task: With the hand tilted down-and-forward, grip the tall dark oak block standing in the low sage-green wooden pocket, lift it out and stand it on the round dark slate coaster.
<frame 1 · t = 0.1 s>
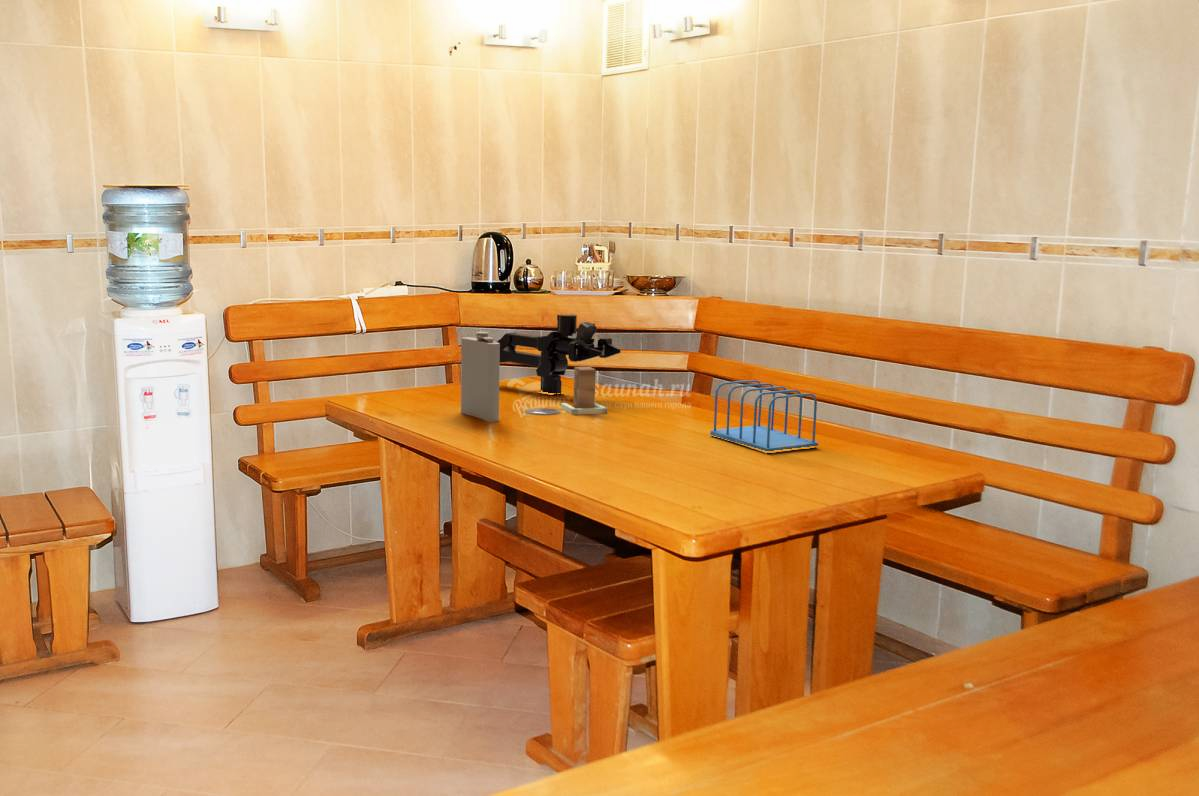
hand: (610, 352, 350), 17 cm above the table, tool horizontal, fingers open, 9 cm apart
pocket: (583, 412, 337), on the table
file sorter: (762, 443, 300), on the table
oak block: (583, 410, 337), resting on pocket
slate coaster: (542, 413, 333), on the table
flask: (480, 417, 326), on the table
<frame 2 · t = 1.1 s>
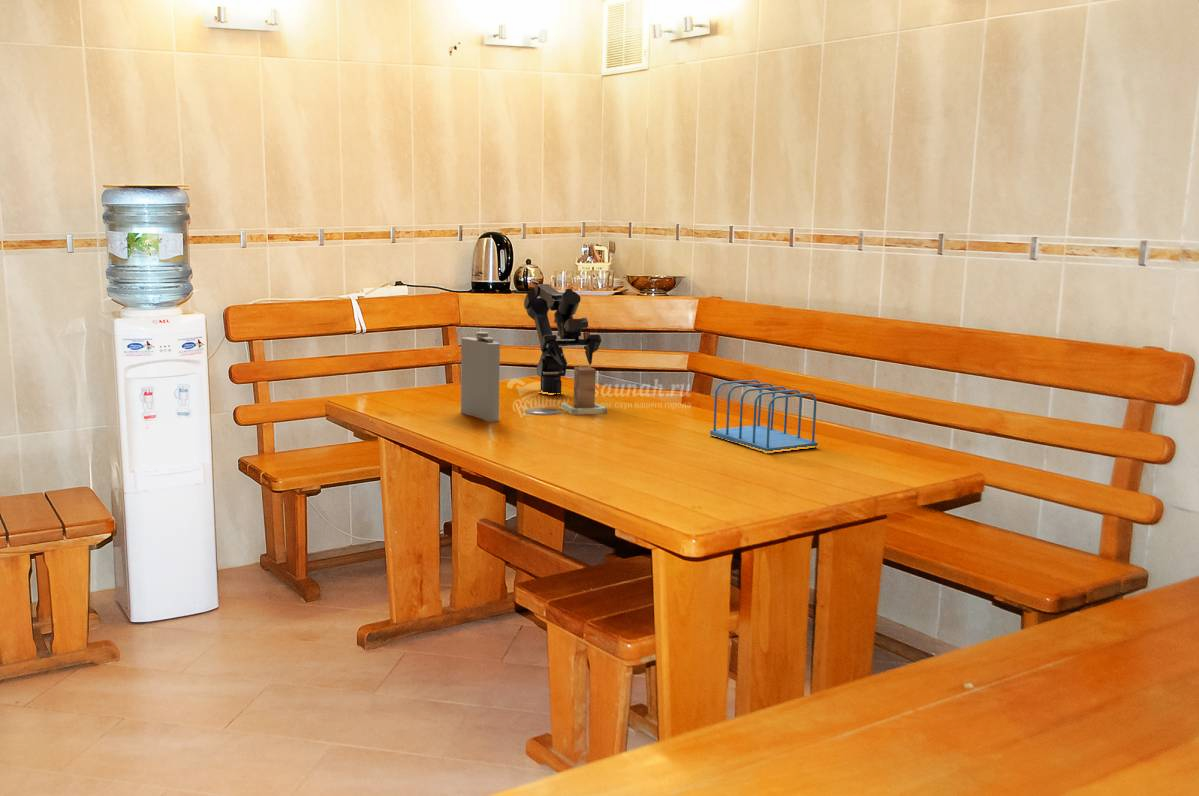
hand: (576, 364, 342), 14 cm above the table, tool tilted 45°, fingers open, 9 cm apart
nothing on the table moved.
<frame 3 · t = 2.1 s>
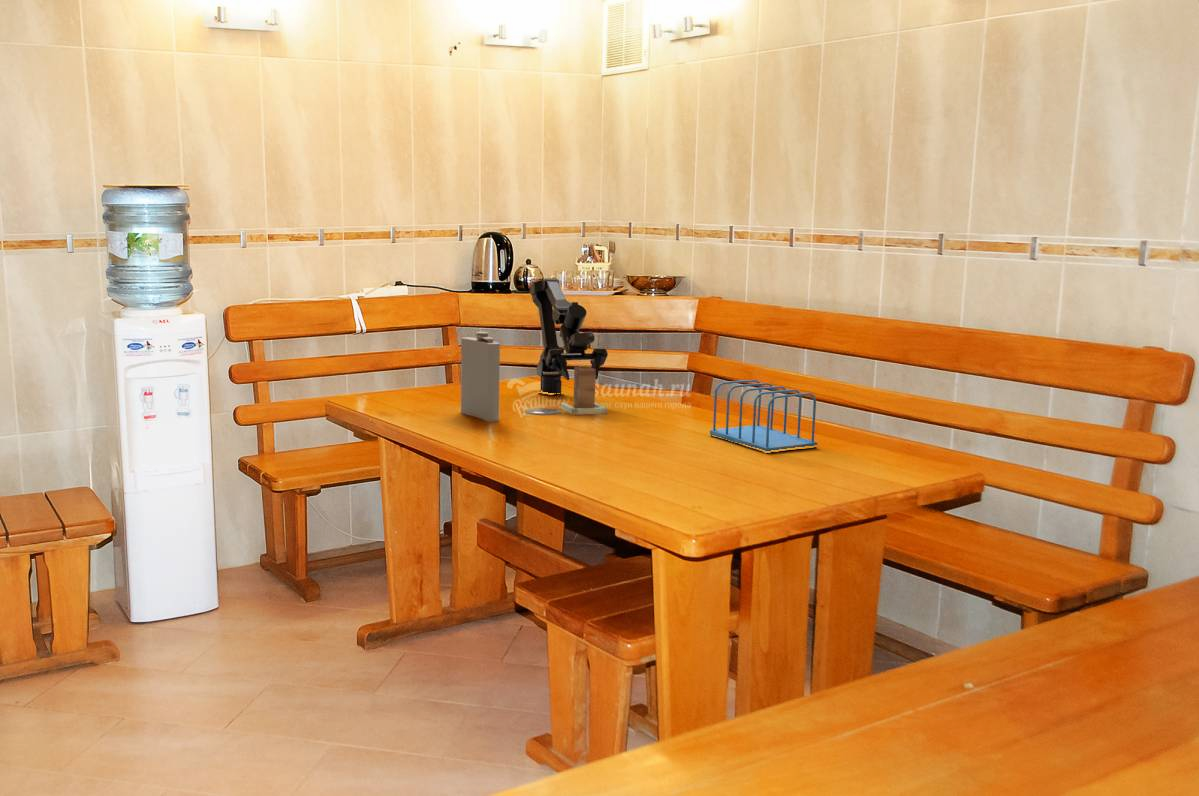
hand: (582, 379, 337), 10 cm above the table, tool tilted 45°, fingers open, 9 cm apart
nothing on the table moved.
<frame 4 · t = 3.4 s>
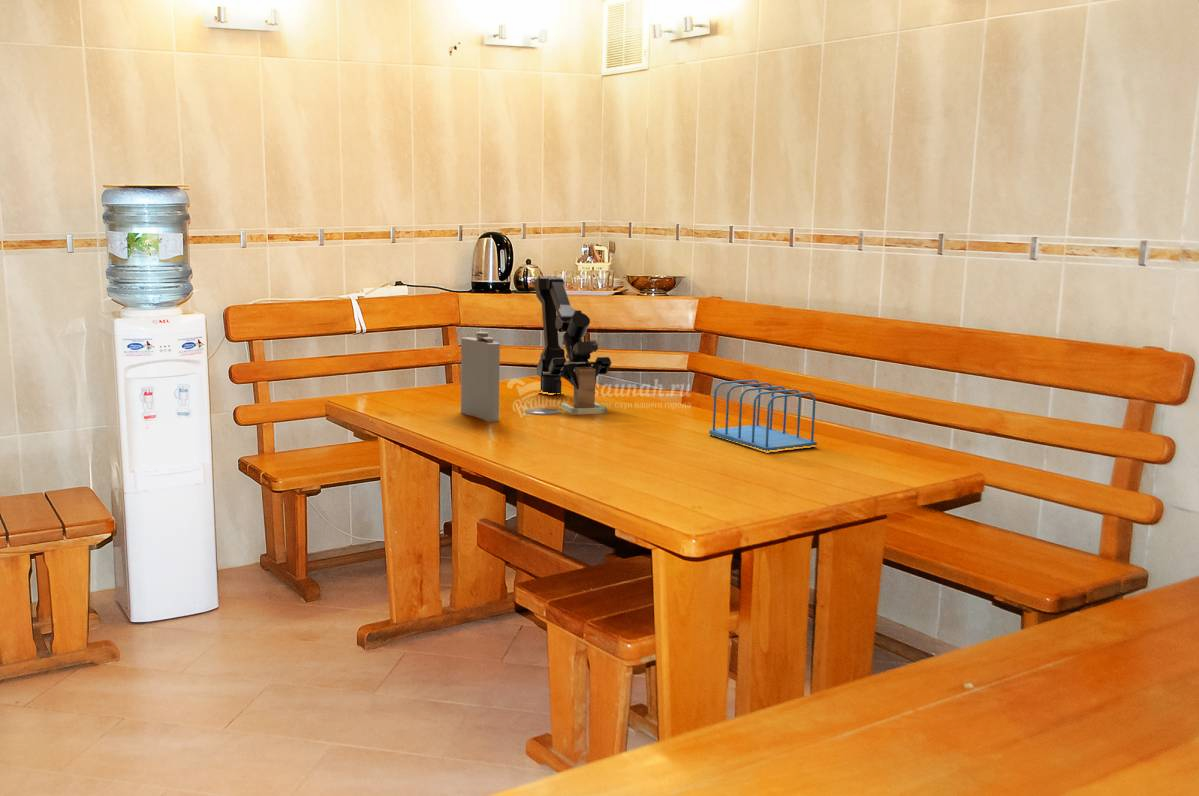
hand: (586, 388, 335), 8 cm above the table, tool tilted 45°, fingers closed on oak block, 5 cm apart
oak block: (583, 410, 337), resting on pocket, touching gripper
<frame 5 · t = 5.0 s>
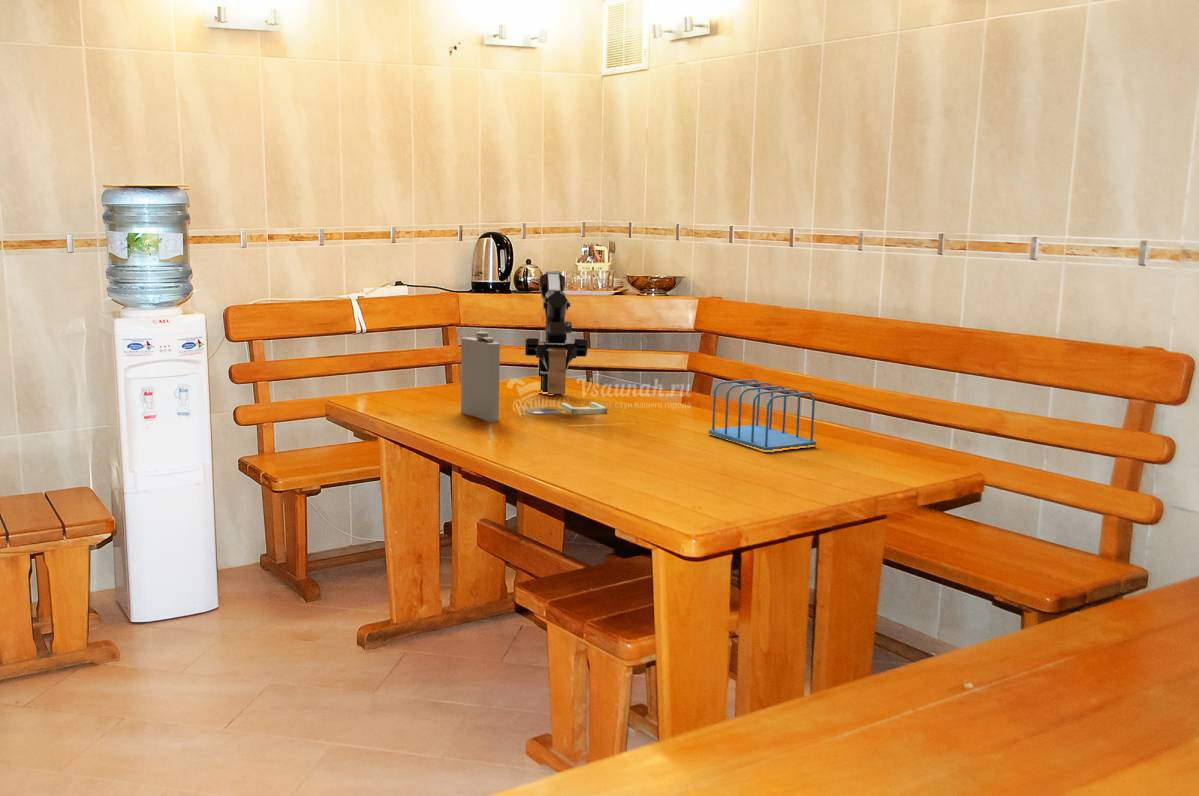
hand: (556, 369, 331), 14 cm above the table, tool tilted 45°, fingers closed on oak block, 5 cm apart
oak block: (556, 392, 333), point 6 cm above the table, touching gripper
when the fingers open (8 cm above the table, at t = 6.5 s): oak block stays where it is, resting on slate coaster.
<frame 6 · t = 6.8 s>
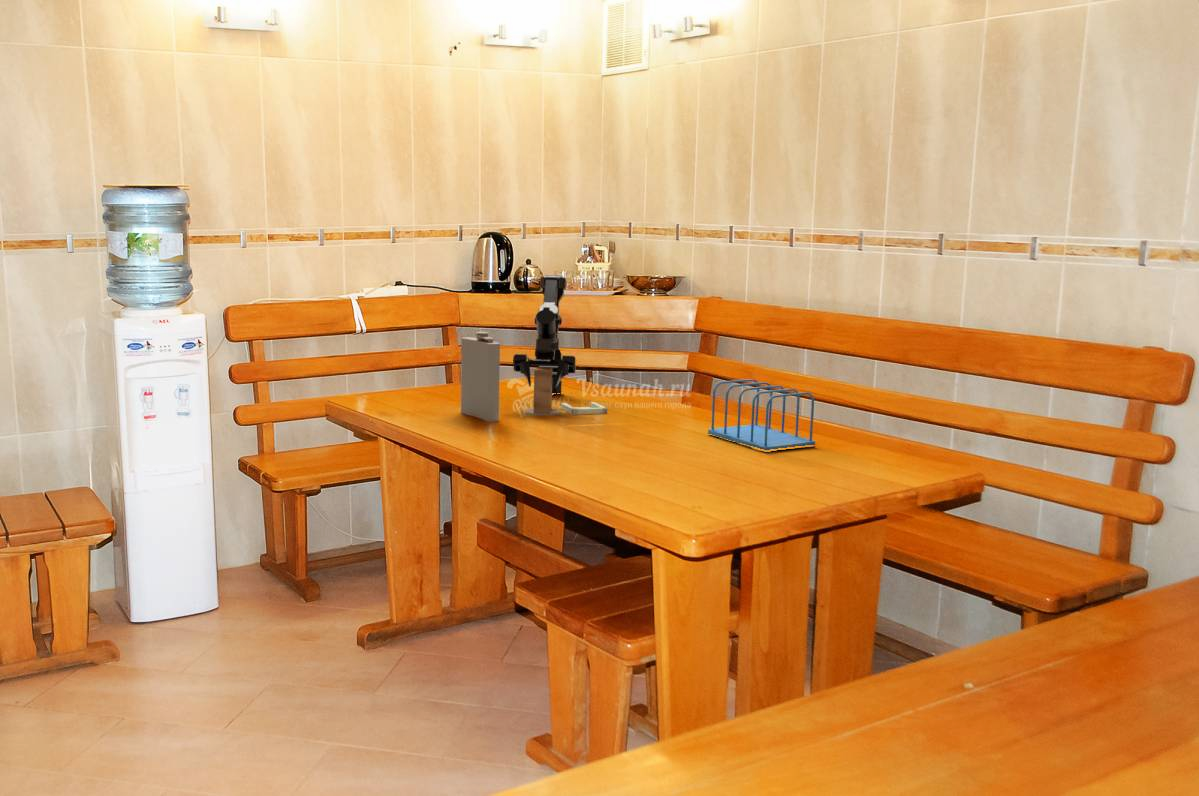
hand: (542, 386, 331), 9 cm above the table, tool tilted 45°, fingers open, 7 cm apart
oak block: (542, 411, 333), point 1 cm above the table, touching slate coaster
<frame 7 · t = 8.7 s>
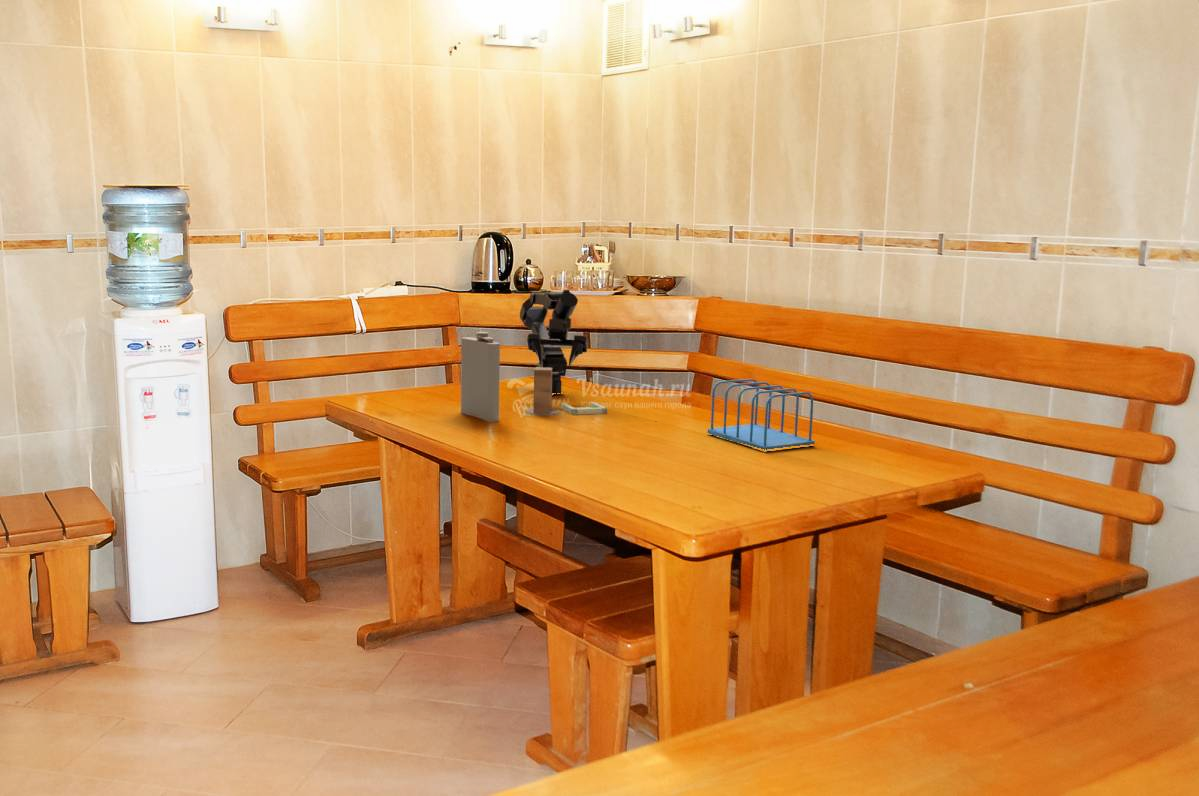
hand: (554, 364, 346), 13 cm above the table, tool tilted 45°, fingers open, 9 cm apart
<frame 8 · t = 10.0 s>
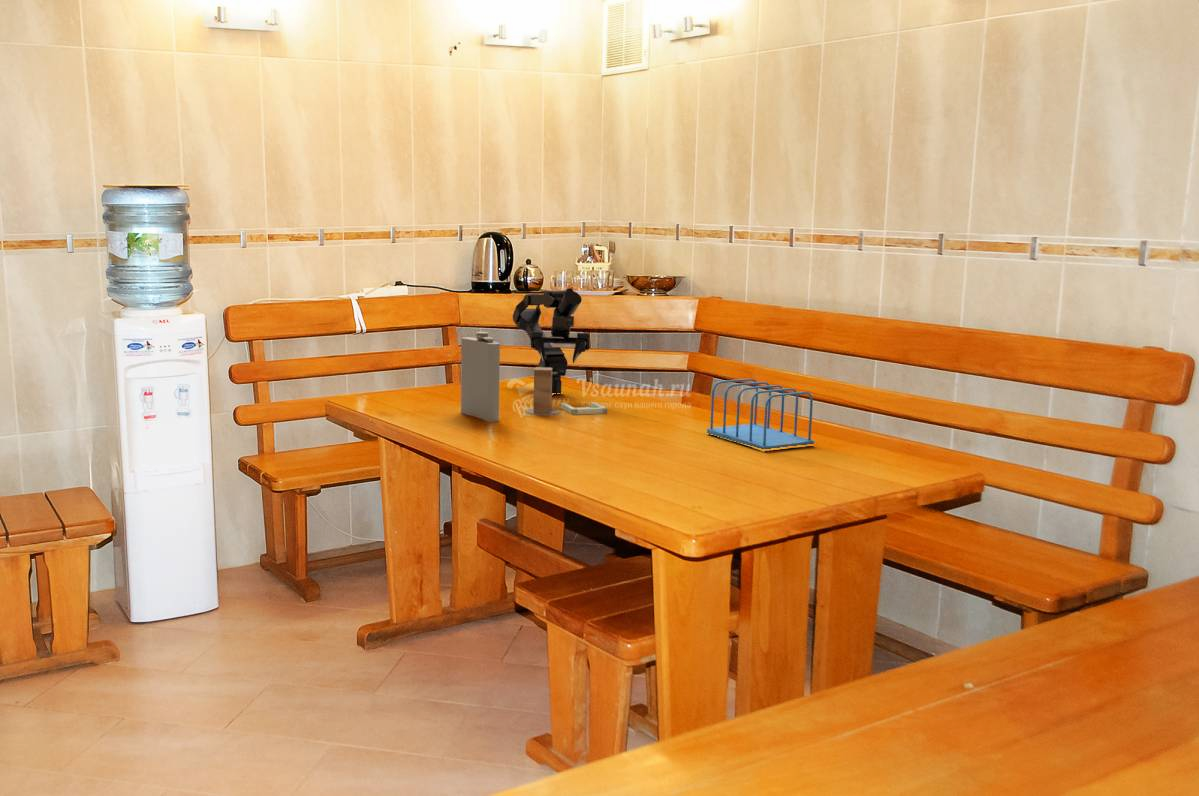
hand: (558, 361, 347), 14 cm above the table, tool tilted 45°, fingers open, 9 cm apart
at the end: oak block inside the target area on the slate coaster (0.0 cm from its centre), point 0.6 cm above the slate coaster's base; oak block tilted 0°; the gripper is holding nothing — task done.
